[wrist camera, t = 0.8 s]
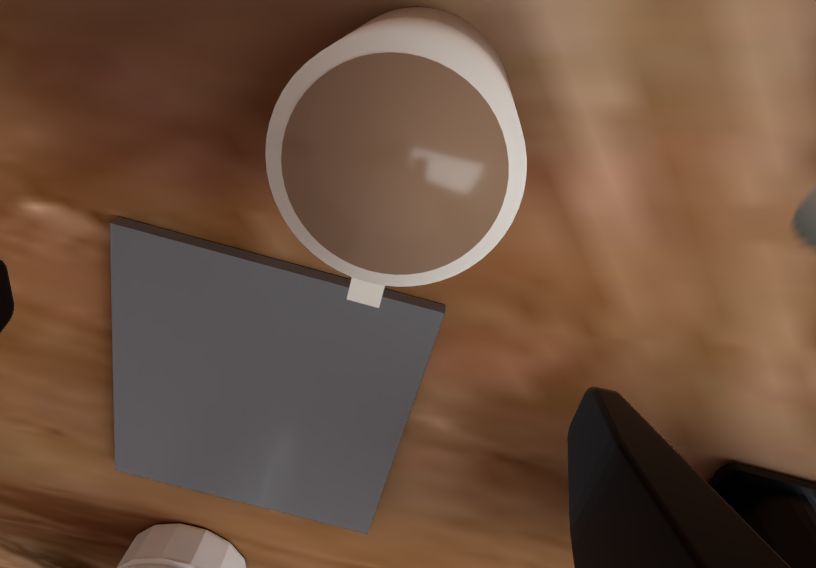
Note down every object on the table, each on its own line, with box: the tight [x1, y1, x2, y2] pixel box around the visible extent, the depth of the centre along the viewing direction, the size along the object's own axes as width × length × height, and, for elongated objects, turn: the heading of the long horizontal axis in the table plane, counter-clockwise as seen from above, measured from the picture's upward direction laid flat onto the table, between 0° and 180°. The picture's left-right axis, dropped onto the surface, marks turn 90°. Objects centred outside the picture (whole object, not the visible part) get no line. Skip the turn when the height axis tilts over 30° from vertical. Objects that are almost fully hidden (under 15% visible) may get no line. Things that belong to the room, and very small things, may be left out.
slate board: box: [110, 217, 445, 534], centre depth 25 cm, size 13×14×1 cm
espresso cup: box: [265, 7, 527, 308], centre depth 16 cm, size 6×8×7 cm
